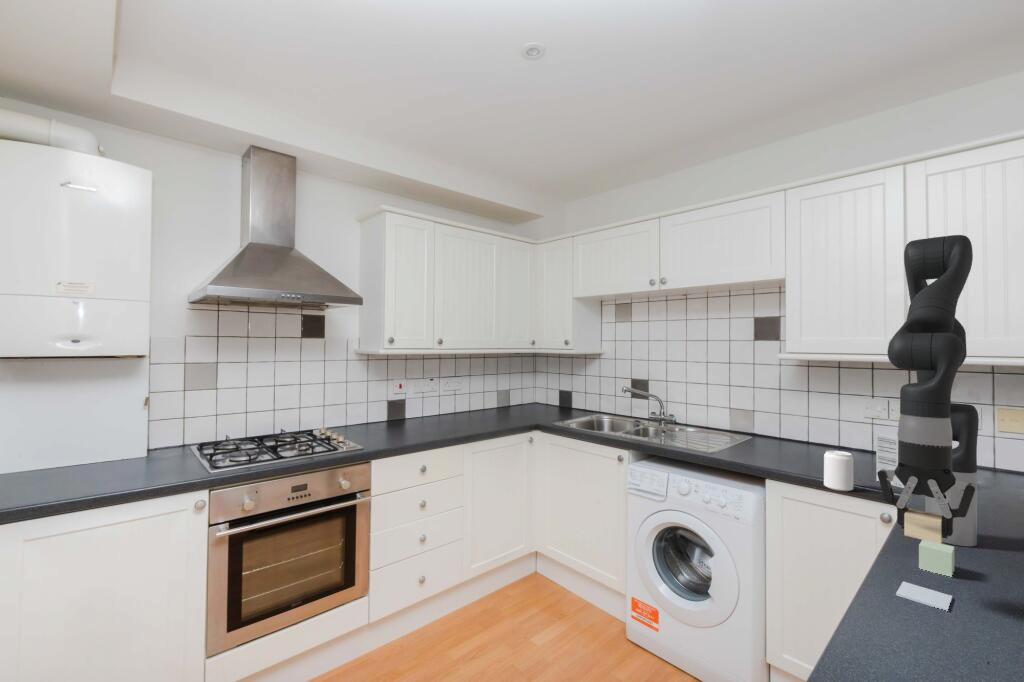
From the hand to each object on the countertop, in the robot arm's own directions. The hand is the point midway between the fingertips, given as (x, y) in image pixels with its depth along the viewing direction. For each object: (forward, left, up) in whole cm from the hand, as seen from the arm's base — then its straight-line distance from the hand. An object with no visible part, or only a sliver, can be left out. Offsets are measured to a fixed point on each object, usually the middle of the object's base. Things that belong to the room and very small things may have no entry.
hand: (924, 532), depth 86 cm
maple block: (0, 0, -1) cm, 1 cm away
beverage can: (-72, -30, -12) cm, 79 cm away
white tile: (0, 0, -12) cm, 12 cm away
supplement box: (-97, -18, -12) cm, 99 cm away
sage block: (-17, 0, -12) cm, 21 cm away
